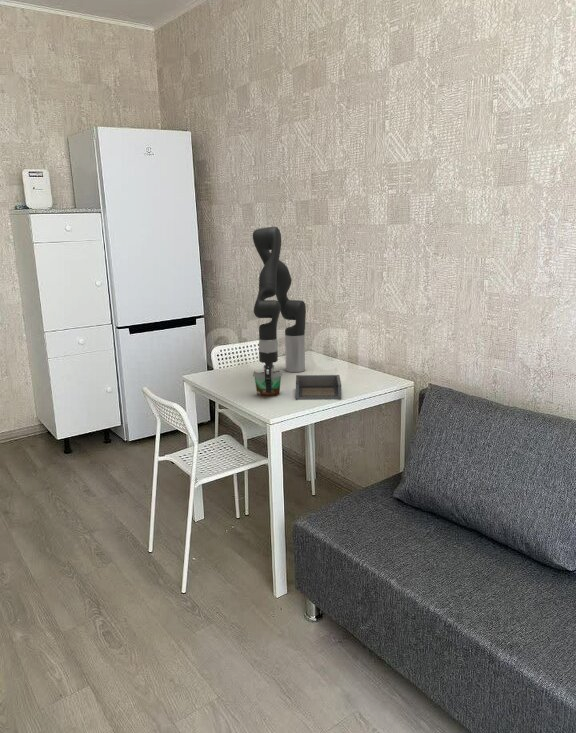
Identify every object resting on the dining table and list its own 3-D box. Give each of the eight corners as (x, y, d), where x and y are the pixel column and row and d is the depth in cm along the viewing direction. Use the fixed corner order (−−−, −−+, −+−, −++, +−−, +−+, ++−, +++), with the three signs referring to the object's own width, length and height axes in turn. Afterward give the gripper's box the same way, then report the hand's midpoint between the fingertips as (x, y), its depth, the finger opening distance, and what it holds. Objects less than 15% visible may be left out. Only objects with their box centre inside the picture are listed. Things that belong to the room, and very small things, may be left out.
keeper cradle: (296, 389, 253) (296, 375, 252) (339, 388, 253) (339, 374, 251) (295, 399, 239) (295, 384, 237) (341, 399, 238) (341, 384, 237)
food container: (256, 398, 241) (255, 374, 238) (253, 394, 246) (252, 370, 244) (286, 396, 243) (285, 372, 241) (282, 392, 249) (282, 368, 247)
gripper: (260, 346, 248) (261, 385, 252) (257, 353, 234) (258, 395, 238) (278, 346, 248) (279, 385, 252) (276, 353, 234) (277, 395, 238)
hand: (269, 390), depth 245 cm, fingers closed on food container, 5 cm apart
